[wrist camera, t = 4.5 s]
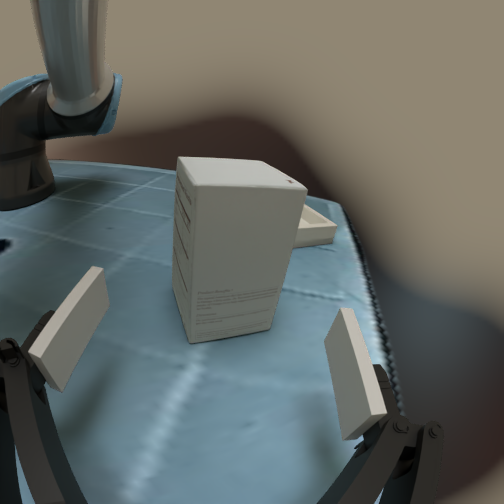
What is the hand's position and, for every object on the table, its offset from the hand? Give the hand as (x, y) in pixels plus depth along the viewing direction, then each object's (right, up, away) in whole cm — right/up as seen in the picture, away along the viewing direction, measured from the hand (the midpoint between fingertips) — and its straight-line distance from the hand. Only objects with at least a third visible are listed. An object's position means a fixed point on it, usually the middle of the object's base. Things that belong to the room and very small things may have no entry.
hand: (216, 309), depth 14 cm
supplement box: (-1, -2, +10) cm, 10 cm away
